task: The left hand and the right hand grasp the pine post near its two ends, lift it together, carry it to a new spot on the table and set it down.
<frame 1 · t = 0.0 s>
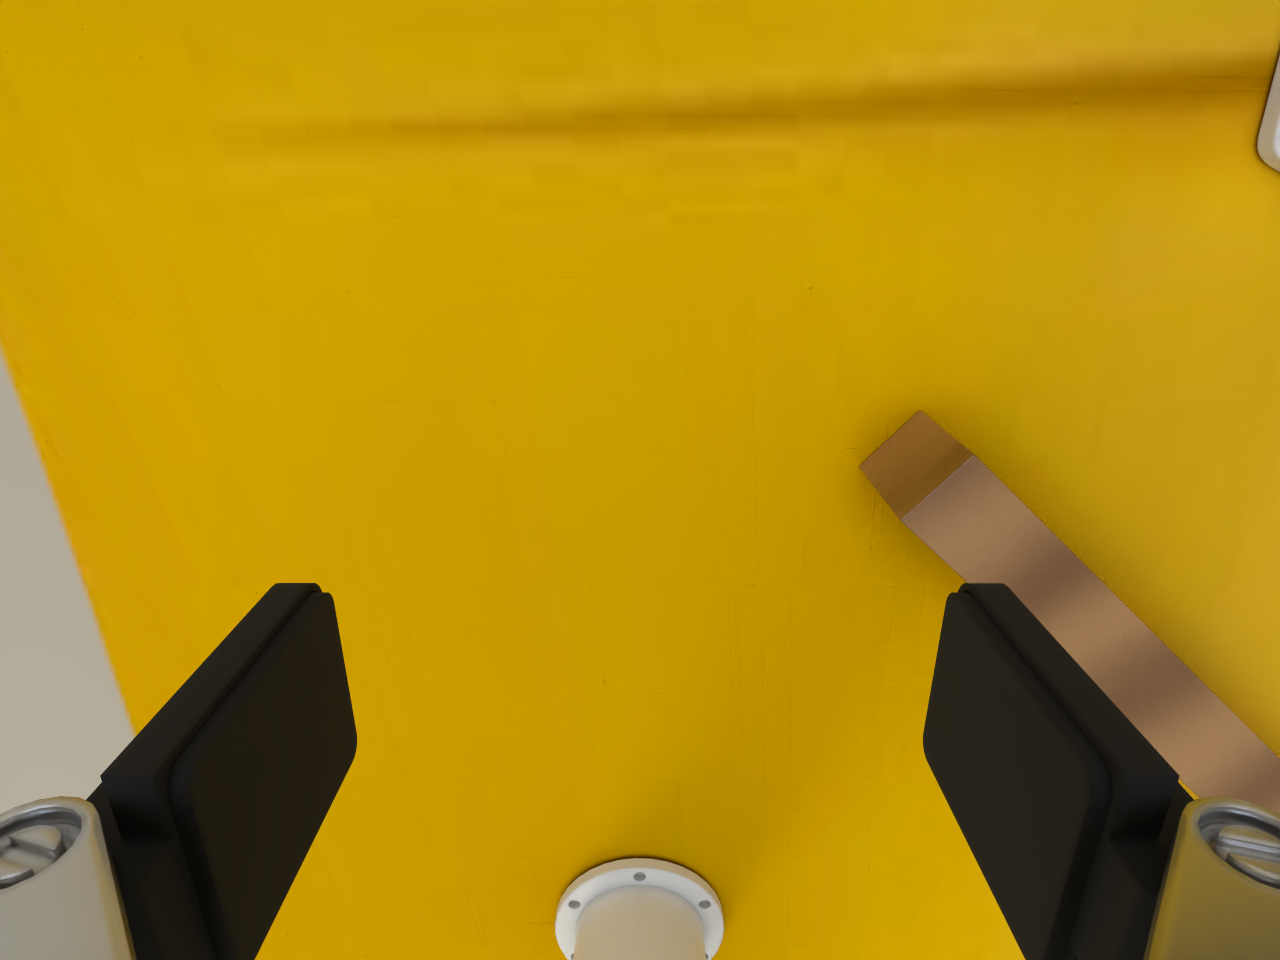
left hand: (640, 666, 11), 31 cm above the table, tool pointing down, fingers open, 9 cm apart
post: (1167, 706, 50), on the table
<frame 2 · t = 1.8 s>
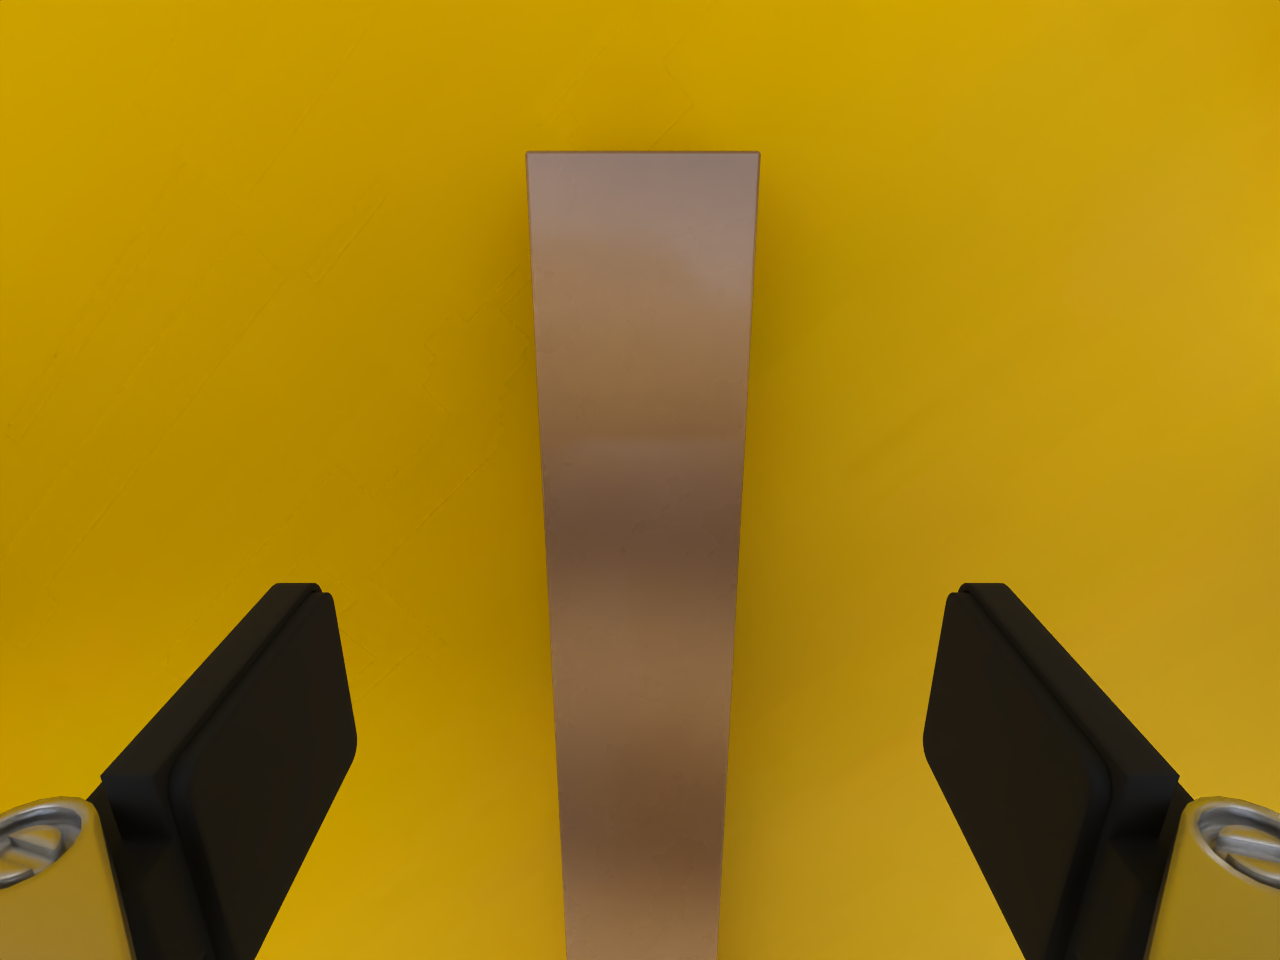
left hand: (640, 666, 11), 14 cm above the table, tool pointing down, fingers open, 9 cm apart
post: (641, 877, 32), on the table
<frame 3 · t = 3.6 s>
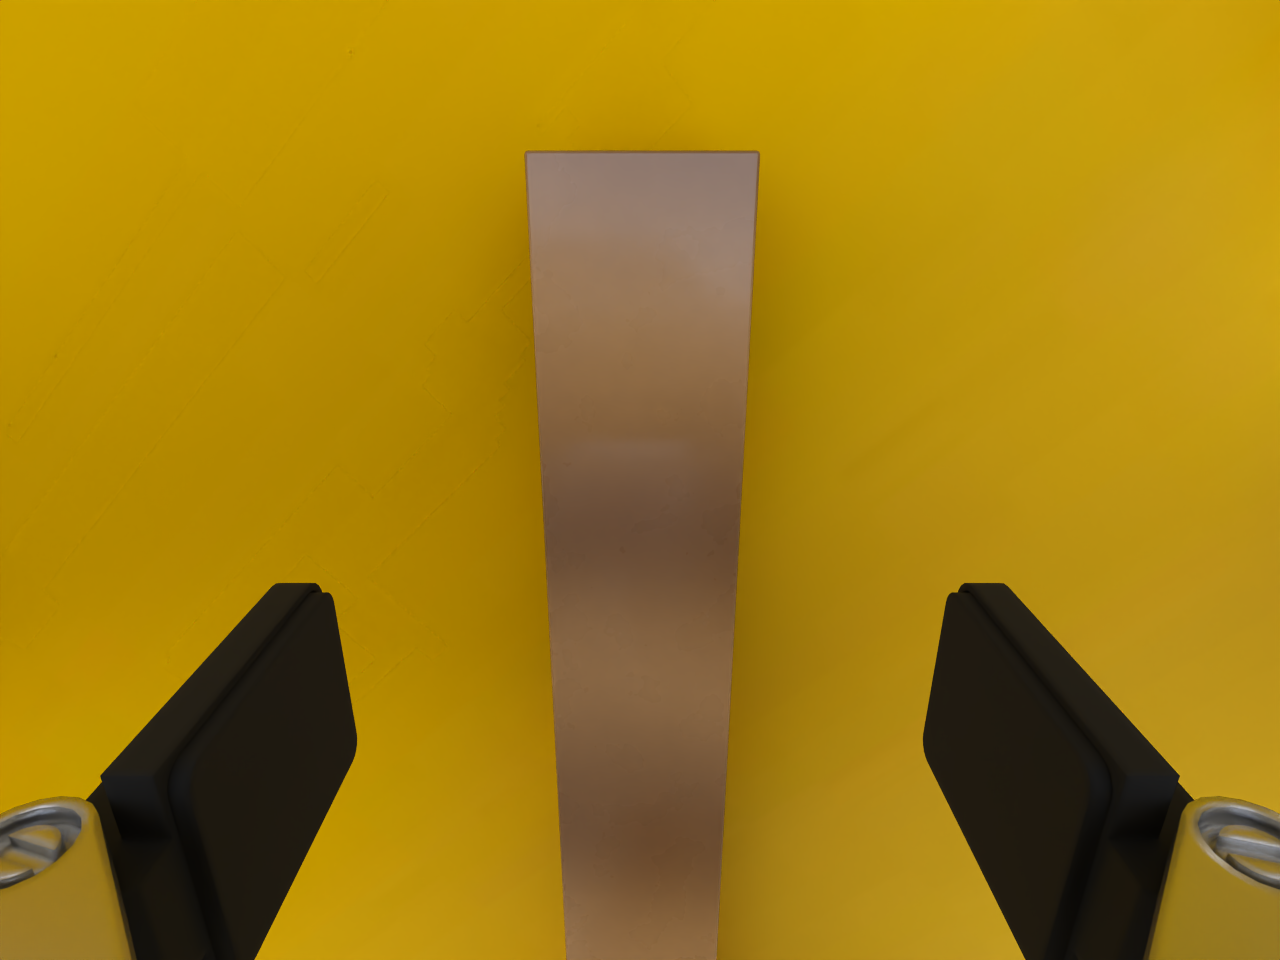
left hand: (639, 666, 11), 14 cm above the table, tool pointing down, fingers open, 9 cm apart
post: (641, 877, 32), on the table, touching right hand
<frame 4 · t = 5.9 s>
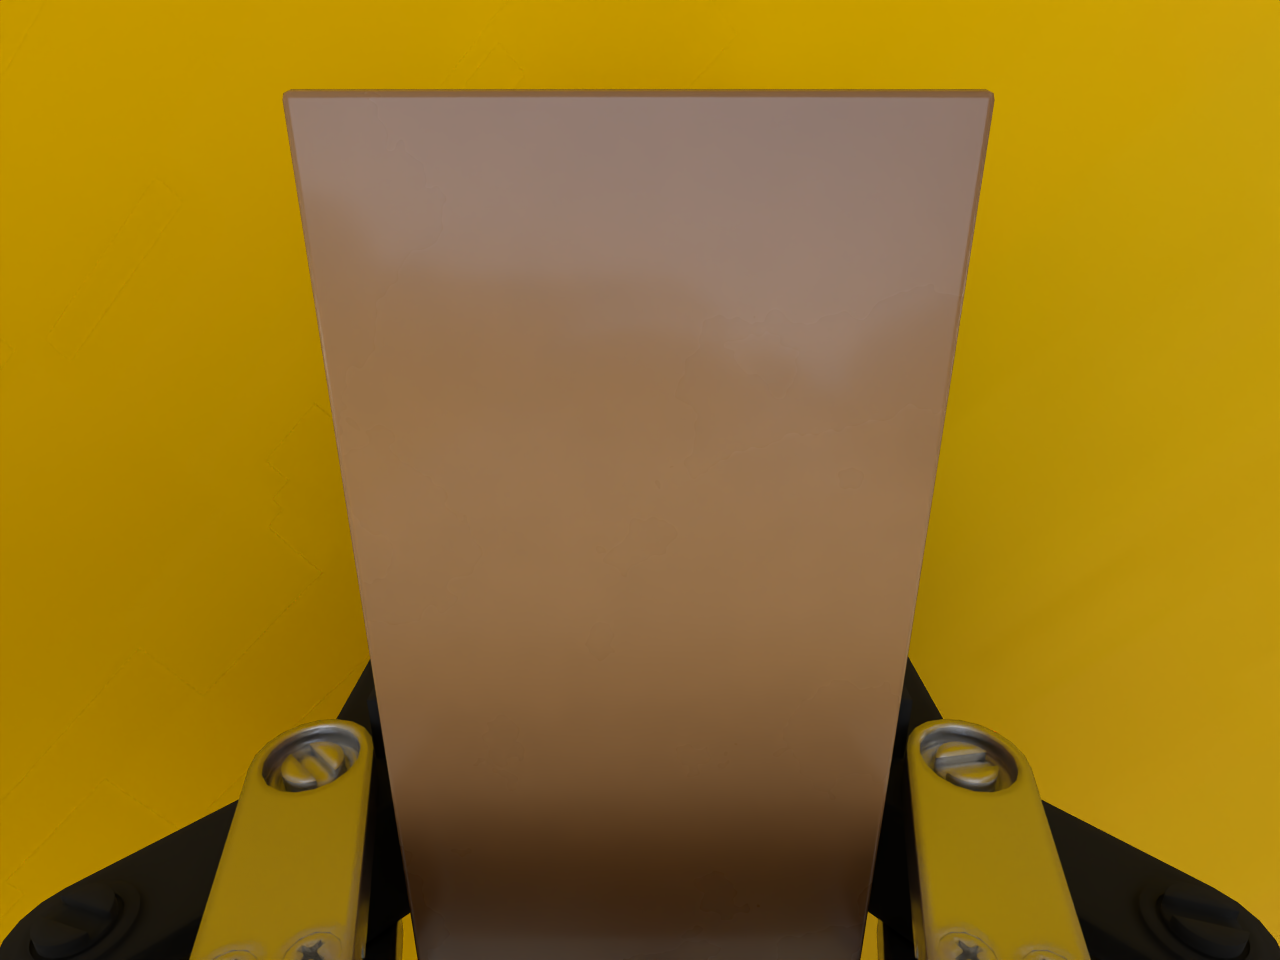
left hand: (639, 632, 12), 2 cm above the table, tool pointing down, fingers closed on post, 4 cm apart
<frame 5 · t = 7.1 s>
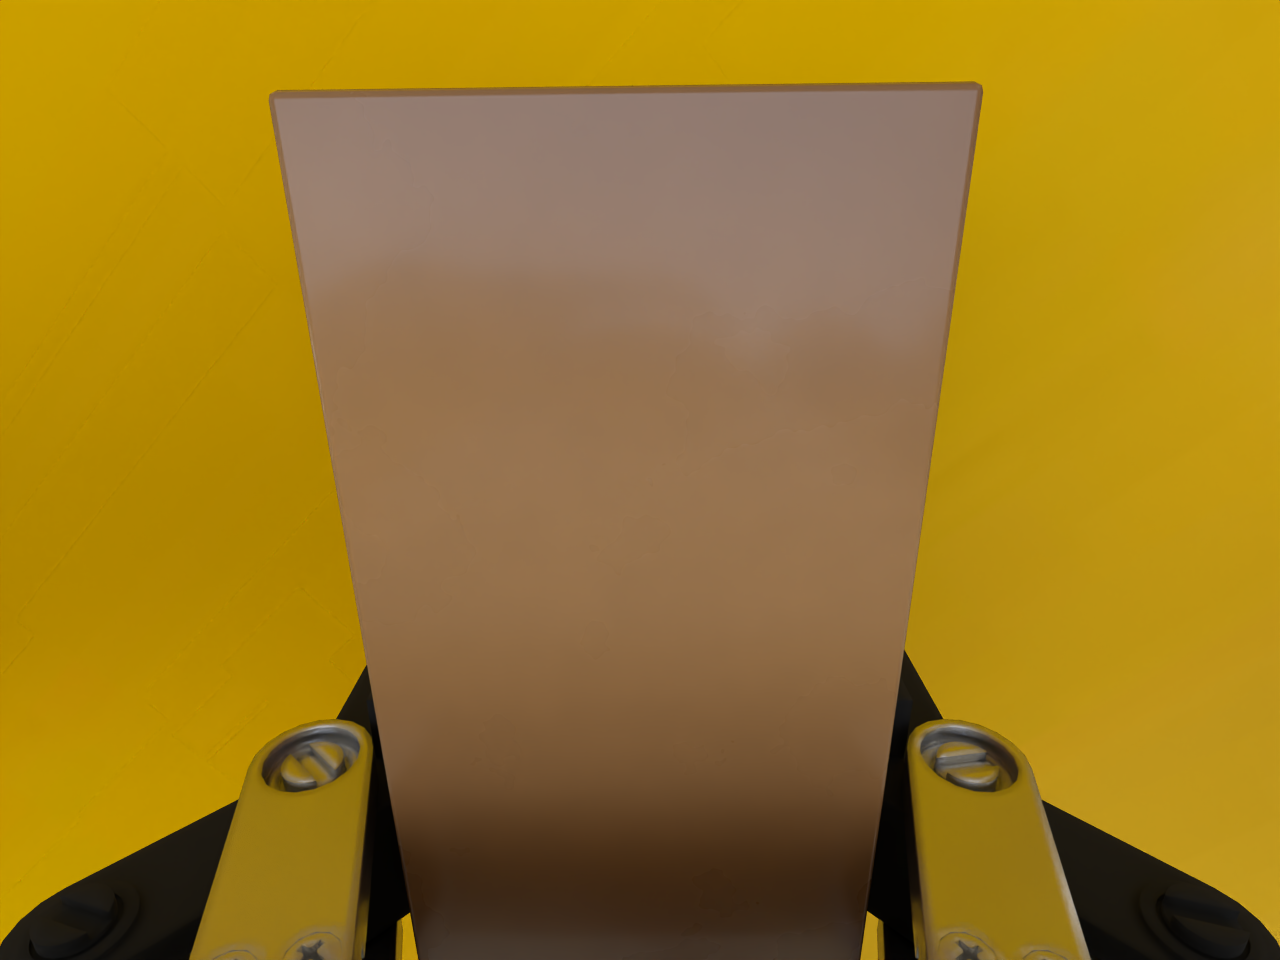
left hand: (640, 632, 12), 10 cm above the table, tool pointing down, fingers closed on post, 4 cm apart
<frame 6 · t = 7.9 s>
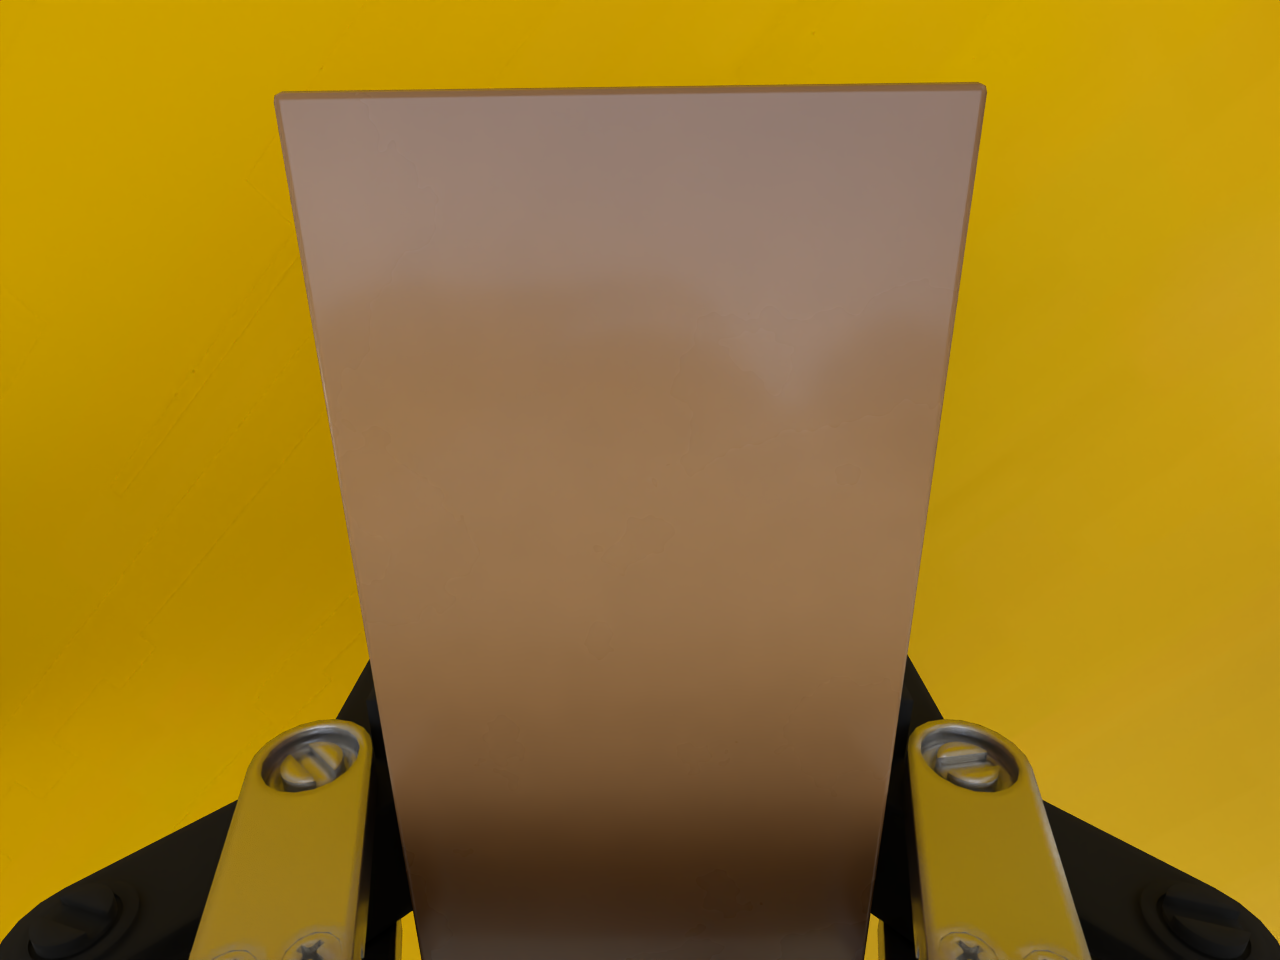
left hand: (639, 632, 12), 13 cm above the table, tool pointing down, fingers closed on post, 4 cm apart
when the left hand's fingers open (3 cm above the table, at t = 10.4 s): post stays where it is, on the table.
when the right hand's fingers open (4 cm above the table, at t = 10.5 s): post stays where it is, on the table.
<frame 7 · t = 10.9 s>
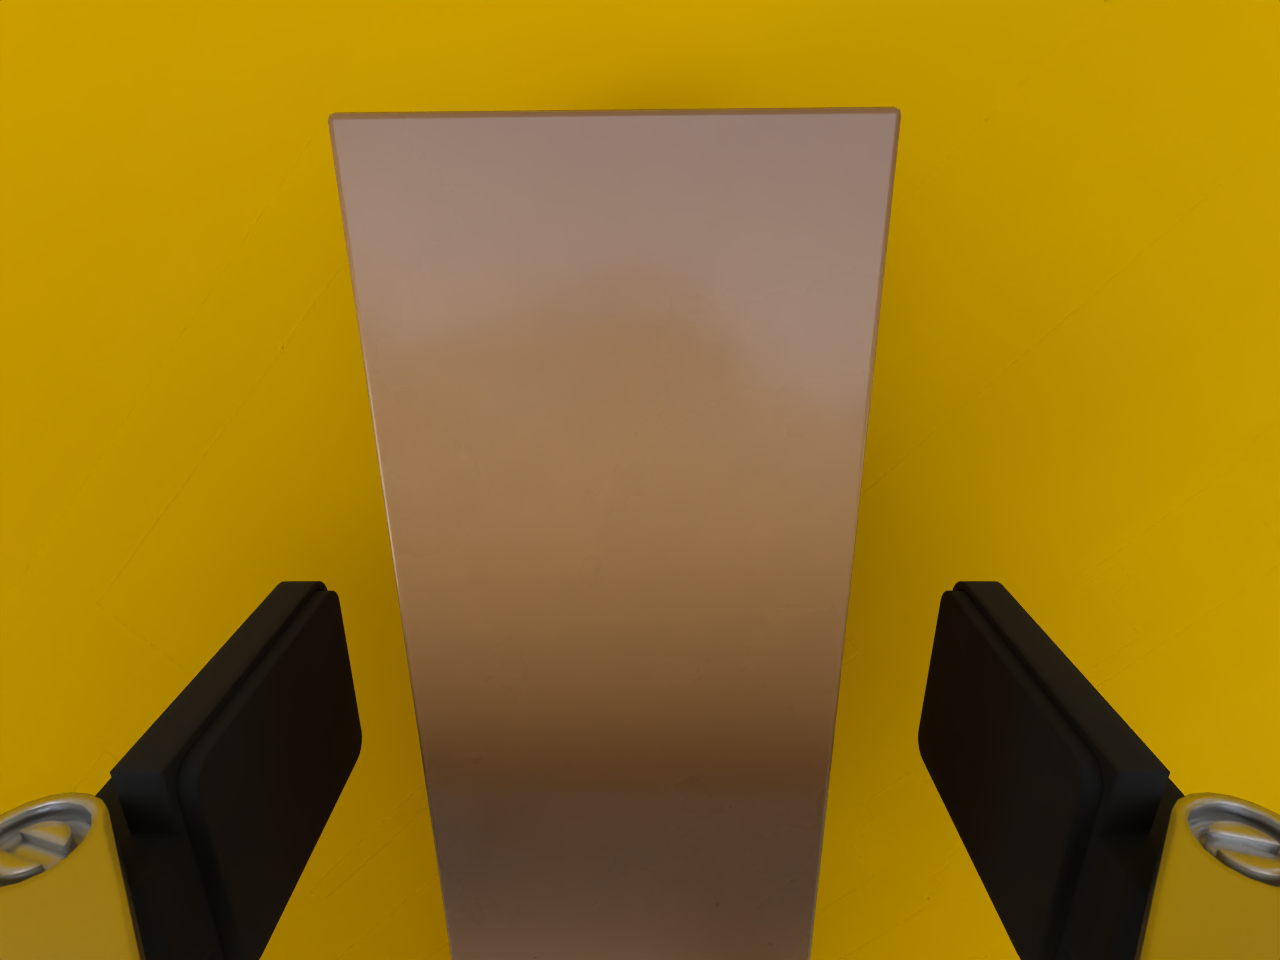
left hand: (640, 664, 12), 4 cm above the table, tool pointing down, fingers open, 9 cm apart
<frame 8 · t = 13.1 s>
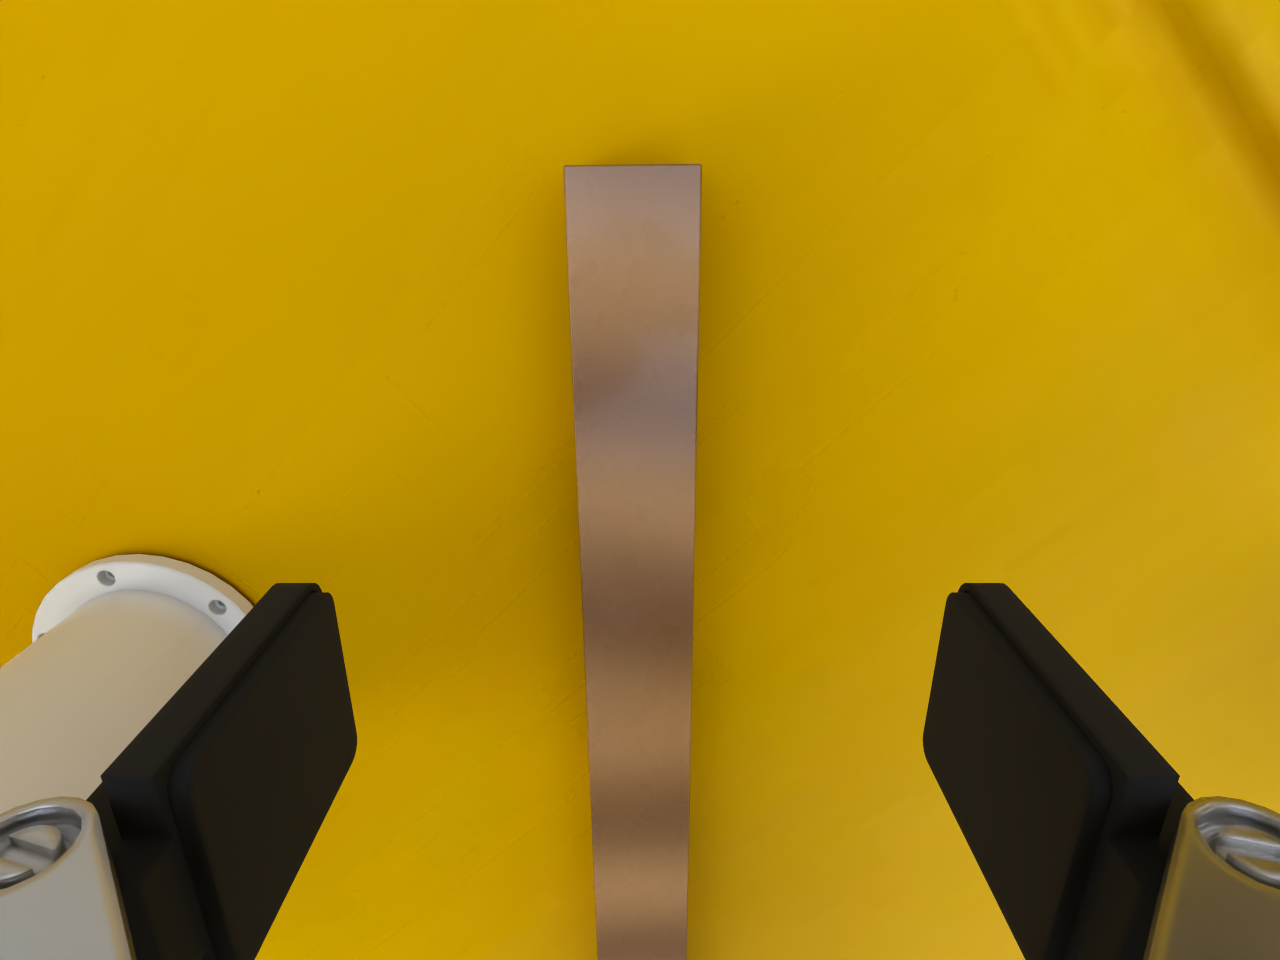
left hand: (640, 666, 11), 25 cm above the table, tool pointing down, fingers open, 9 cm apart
post: (640, 707, 42), on the table
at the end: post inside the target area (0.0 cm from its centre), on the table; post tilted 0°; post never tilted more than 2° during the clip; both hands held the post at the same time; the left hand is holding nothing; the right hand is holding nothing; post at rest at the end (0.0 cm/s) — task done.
